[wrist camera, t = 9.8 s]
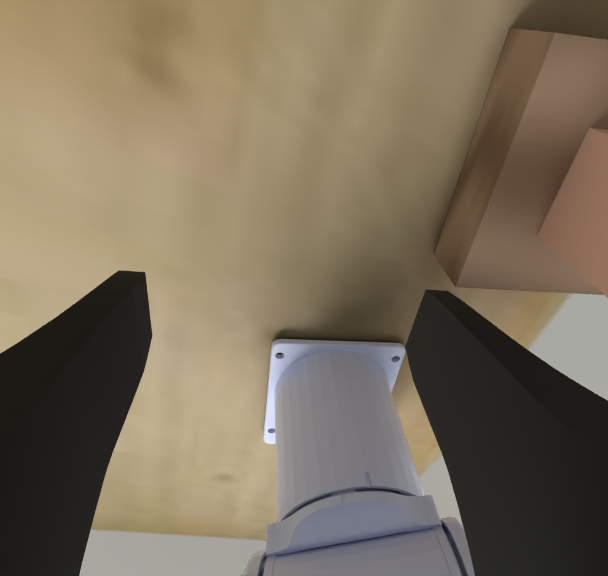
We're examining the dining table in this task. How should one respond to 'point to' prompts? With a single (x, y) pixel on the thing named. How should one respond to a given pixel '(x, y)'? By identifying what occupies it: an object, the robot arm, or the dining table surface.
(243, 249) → the dining table surface
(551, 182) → the walnut base
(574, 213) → the terracotta cube
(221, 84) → the dining table surface
